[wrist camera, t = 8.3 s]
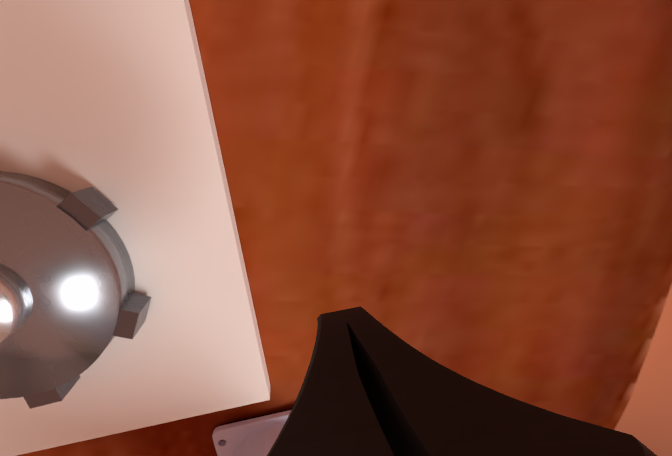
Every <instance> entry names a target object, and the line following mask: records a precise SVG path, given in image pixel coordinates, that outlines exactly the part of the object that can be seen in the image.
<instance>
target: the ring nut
mask: <svg viewBox="0 0 672 456" xmlns="http://www.w3.org/2000/svg"><path fill="white" fill-rule="evenodd" d="M117 210H118V208H116V207H115V206H114V205H113V204H112V203H111V202H110V201H108V200H107V199H106V198H105V197H104V196H103V195H101V194H100V193H99V192H98V191H97V190H96V189H95V188H93V187H88V188H85V189H82V190H78V191H75V192H70V191H68V190H67V189H64V188H62V187H60V186H58V185H56V184H54V183H51V182H48V181H46V180H43V179H40V178H37V177H33V176H29V175H25V174H20V173H15V172H6V171H0V399H9V398H20V397H24V399H25V401H26V403H27V404H28V406H29V408H30V409H31V408H35V407H39V406H43V405H47V404H51V403H55V402H59V401H62V400H63V399H64V397H65V396H66V395H67V394H68V392H69V391H70V390H71V389H72V387H73V386H74V385H75V384H76V382H77V381H78V380H79V379H80V374H81V373H83V372H84V371H85V370H87V369H88V368H89V367H90V366H91V365H92V364H93V363H94V362H95V361H96V360H97V359H98V357H99V356H100V355H101V354H102V352H103V351H104V350H105V349H106V347H107V346H108V345H109V343H110V342H111V341H112V340H113V338H114V337H115V336H117V337H122V338H127V339H133V338H134V337H135V335H136V334H137V332H138V331H139V329H140V328H141V326H142V325H143V324H144V322H145V320H146V316H147V313H148V309H149V305H150V301H151V297H150V296H145V295H141V294H137V293H135V277H134V270H133V265H132V262H131V259H130V256H129V253H128V251H127V249H126V247H125V245H124V243H123V241H122V240H121V238H120V236H119V235H118V233H117V232H116V230H115V229H114V228H113V227H112V226H111V224H110V223H109V222H108V221H107V219H108V218H109V217H110V216H111V215H113V214H114V213H115V212H116V211H117Z"/></svg>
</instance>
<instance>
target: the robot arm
mask: <svg viewBox="0 0 672 456" xmlns="http://www.w3.org/2000/svg"><path fill="white" fill-rule="evenodd" d="M317 319H318V330H317V337H316V342H315V346H314V350H313V354H312V358H311V361H310V365H309V367H308V370H307V373H306V376H305V379H304V382H303V385H302V387H301V390H300V392H299V395H298V397H297V399H296V401H295V404H294V406H293V408H292V410H289V411H284V412H280V413H275V414H271V415H266V416H262V417H258V418H253V419H249V420H244V421H240V422H235V423H231V424H226V425H222V426H218V427H216V428H215V429H214V431H213V435H212V439H213V442H214V446H215V449H216V452H217V456H657V455H655V454H654V453H653V452H652V451H651V450H649V449H648V448H647V447H646V446H645V445H644V444H642V443H641V442H640V441H639V440H637V439H636V438H635V437H633V436H632V435H629V434H626V433H622V432H619V431H615V430H612V429H608V428H604V427H601V426H597V425H594V424H590V423H587V422H583V421H580V420H576V419H572V418H569V417H565V416H562V415H559V414H556V413H553V412H550V411H547V410H545V409H542V408H539V407H536V406H533V405H530V404H527V403H524V402H522V401H519V400H517V399H514V398H511V397H509V396H506V395H504V394H501V393H499V392H497V391H494V390H492V389H490V388H487V387H485V386H483V385H480V384H478V383H476V382H474V381H472V380H470V379H467V378H465V377H463V376H461V375H459V374H457V373H456V372H454V371H452V370H450V369H448V368H446V367H444V366H442V365H441V364H439V363H437V362H435V361H434V360H432V359H430V358H428V357H427V356H425V355H424V354H422V353H421V352H419V351H418V350H416V349H414V348H413V347H411V346H410V345H409V344H407V343H406V342H404V341H403V340H402V339H400V338H399V337H398V336H396V335H395V334H394V333H392V332H391V331H390V330H388V329H387V328H386V327H385V326H383V325H382V324H381V323H380V322H379V321H377V320H376V319H375V318H374V317H373V316H371V315H370V314H369V313H368V312H367V311H366V310H364V309H363V308H362V307H356V308H351V309H346V310H341V311H336V312H330V313H325V314H321V315H320V316H319V317H318V318H317ZM221 440H225V441H221Z"/></svg>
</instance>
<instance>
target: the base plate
mask: <svg viewBox="0 0 672 456" xmlns="http://www.w3.org/2000/svg"><path fill="white" fill-rule="evenodd" d="M0 171H6V172H15V173H20V174H25V175H29V176H33V177H37V178H40V179H43V180H46V181H48V182H51V183H54V184H56V185H58V186H60V187H62V188H64V189H67V190H68V191H70V192H75V191H78V190H82V189H85V188H88V187H93V188H95V189H96V190H97V191H98V192H99V193H100V194H101V195H103V196H104V197H105V198H106V199H107V200H108V201H110V202H111V203H112V204H113V205H114V206H115V207H116V208H118V210H117V211H116V212H115V213H114V214H113V215H111V216H110V217H109V218H108V219H107V221H108V222H109V223H110V224H111V226H112V227H113V228H114V229H115V230H116V232H117V233H118V235H119V236H120V238H121V240H122V241H123V243H124V245H125V247H126V249H127V251H128V253H129V256H130V259H131V262H132V265H133V270H134V277H135V293H137V294H141V295H145V296H150V297H151V301H150V305H149V309H148V313H147V316H146V320H145V322H144V324H143V325H142V326H141V328H140V329H139V331H138V332H137V334H136V335H135V337H134V338H133V339H127V338H122V337H117V336H115V337H114V338H113V340H112V341H111V342H110V343H109V345H108V346H107V347H106V349H105V350H104V351H103V352H102V354H101V355H100V356H99V357H98V359H97V360H96V361H95V362H94V363H93V364H92V365H91V366H90V367H89V368H88V369H87V370H85V371H84V372H83V373H81V374H80V379H79V380H78V381H77V382H76V384H75V385H74V386H73V387H72V389H71V390H70V391H69V392H68V394H67V395H66V396H65V397H64V399H63V400H62V401H59V402H55V403H51V404H47V405H43V406H39V407H35V408H31V409H30V408H29V406H28V404H27V403H26V401H25V399H24V397H20V398H9V399H0V456H17V455H21V454H26V453H30V452H35V451H39V450H44V449H48V448H53V447H58V446H62V445H67V444H71V443H76V442H80V441H85V440H89V439H94V438H99V437H103V436H108V435H112V434H117V433H121V432H126V431H130V430H135V429H139V428H144V427H149V426H153V425H158V424H162V423H167V422H171V421H176V420H180V419H185V418H190V417H194V416H199V415H203V414H208V413H212V412H217V411H221V410H226V409H231V408H235V407H240V406H244V405H249V404H253V403H258V402H262V401H267V400H270V382H269V377H268V372H267V368H266V363H265V358H264V353H263V349H262V344H261V339H260V335H259V330H258V325H257V320H256V316H255V311H254V306H253V302H252V297H251V292H250V287H249V283H248V278H247V273H246V268H245V264H244V259H243V254H242V250H241V245H240V240H239V235H238V231H237V226H236V221H235V217H234V212H233V207H232V202H231V198H230V193H229V188H228V183H227V179H226V174H225V169H224V165H223V160H222V155H221V150H220V146H219V141H218V136H217V132H216V127H215V122H214V117H213V113H212V108H211V103H210V98H209V94H208V89H207V84H206V80H205V75H204V70H203V65H202V61H201V56H200V51H199V47H198V42H197V37H196V32H195V28H194V23H193V18H192V13H191V9H190V4H189V0H0Z"/></svg>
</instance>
